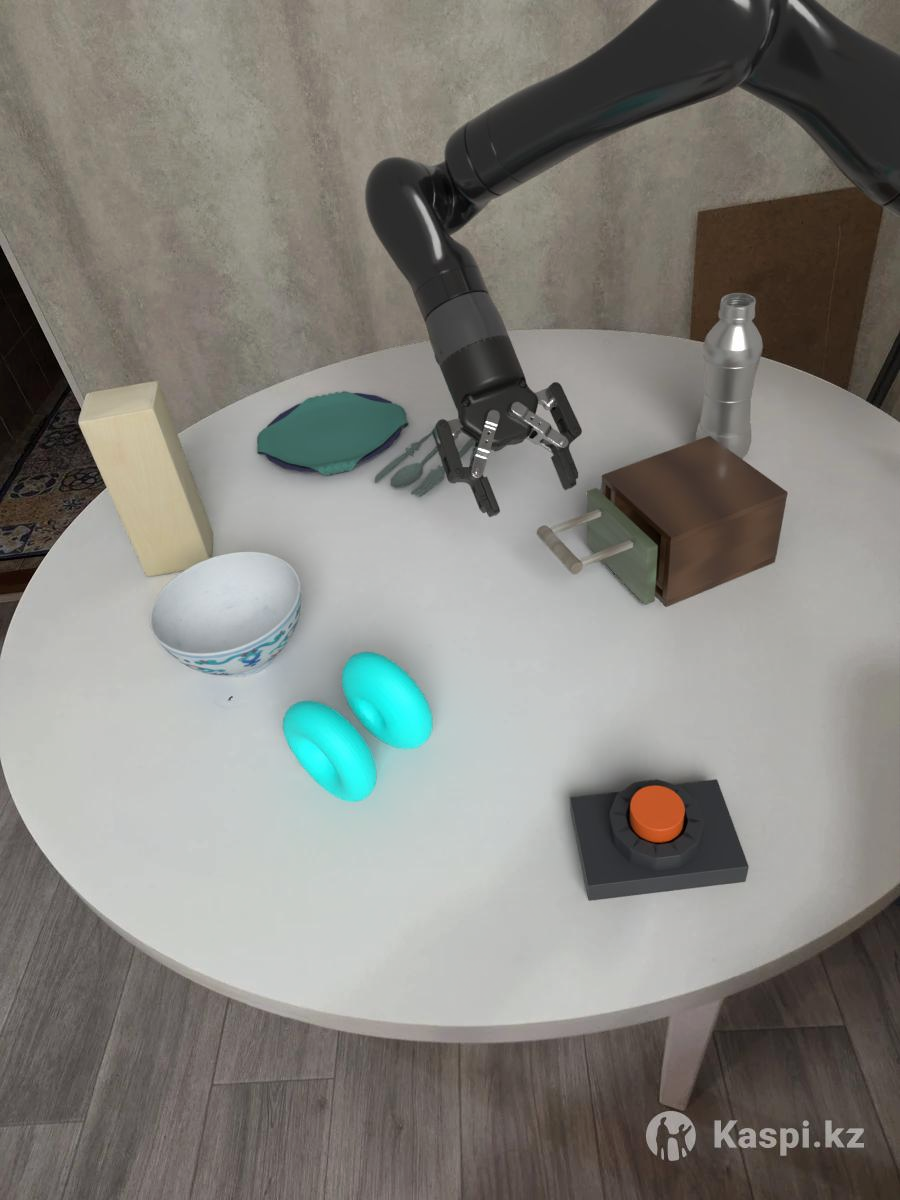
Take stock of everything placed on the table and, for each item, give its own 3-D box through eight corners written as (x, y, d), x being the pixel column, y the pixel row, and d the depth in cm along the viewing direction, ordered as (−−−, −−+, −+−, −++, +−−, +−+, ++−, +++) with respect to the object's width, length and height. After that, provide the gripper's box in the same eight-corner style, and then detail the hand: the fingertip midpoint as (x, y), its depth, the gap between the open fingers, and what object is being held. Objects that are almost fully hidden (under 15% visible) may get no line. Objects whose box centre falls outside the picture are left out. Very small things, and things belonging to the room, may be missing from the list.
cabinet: (666, 607, 88) (671, 537, 82) (601, 541, 97) (601, 474, 91) (775, 562, 92) (788, 492, 85) (702, 502, 100) (709, 435, 94)
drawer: (582, 630, 86) (582, 575, 81) (529, 567, 94) (525, 513, 89) (746, 563, 91) (755, 507, 86) (682, 508, 99) (686, 454, 94)
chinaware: (346, 645, 90) (330, 589, 85) (227, 733, 83) (202, 678, 77) (262, 586, 98) (243, 533, 93) (148, 662, 91) (121, 608, 86)
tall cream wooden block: (215, 529, 108) (158, 376, 94) (213, 565, 102) (152, 408, 88) (152, 541, 107) (85, 389, 93) (146, 578, 102) (74, 423, 88)
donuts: (291, 769, 78) (263, 697, 72) (369, 702, 84) (350, 628, 77) (367, 828, 73) (344, 755, 66) (446, 751, 78) (431, 676, 71)
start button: (675, 795, 68) (676, 782, 67) (689, 839, 65) (691, 826, 64) (624, 801, 68) (625, 788, 67) (636, 846, 65) (636, 833, 64)
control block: (714, 794, 72) (719, 765, 69) (745, 882, 66) (752, 853, 63) (570, 812, 72) (569, 784, 69) (588, 901, 66) (588, 874, 63)
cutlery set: (327, 393, 131) (324, 379, 129) (494, 437, 116) (492, 422, 114) (234, 460, 119) (229, 446, 118) (405, 518, 105) (402, 503, 103)
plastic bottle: (716, 477, 104) (733, 319, 90) (682, 452, 109) (694, 297, 95) (760, 461, 105) (784, 302, 92) (725, 436, 110) (742, 282, 97)
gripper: (414, 357, 81) (477, 516, 81) (548, 315, 85) (609, 468, 84) (402, 385, 89) (460, 531, 88) (526, 345, 92) (582, 487, 91)
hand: (533, 500), depth 86 cm, fingers open, 8 cm apart
